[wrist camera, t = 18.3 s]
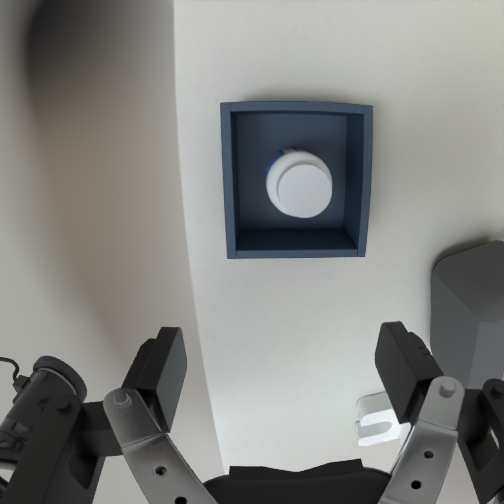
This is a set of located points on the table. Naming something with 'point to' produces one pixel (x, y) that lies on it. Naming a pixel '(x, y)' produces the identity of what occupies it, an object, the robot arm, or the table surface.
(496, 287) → the alarm clock
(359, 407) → the white slotted bracket
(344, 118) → the open box
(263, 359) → the table surface
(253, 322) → the table surface
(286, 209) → the pill bottle
